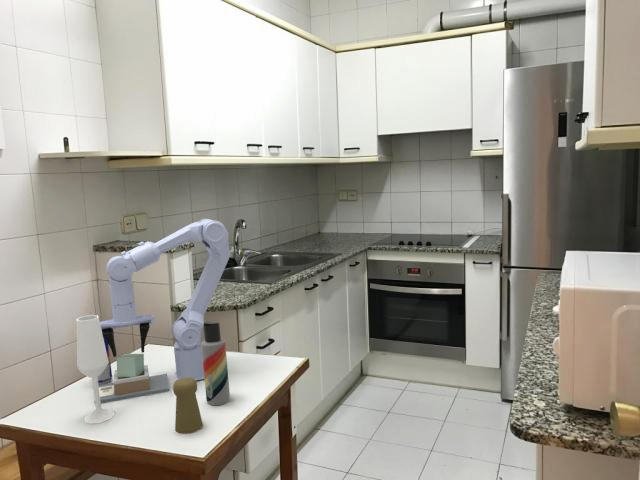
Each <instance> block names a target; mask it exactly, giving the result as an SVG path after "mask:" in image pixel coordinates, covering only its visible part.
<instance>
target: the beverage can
mask: <svg viewBox="0 0 640 480" xmlns="http://www.w3.org/2000/svg"><path fill="white" fill-rule="evenodd" d="M103 339H104V343H105V348H106V352H107V357H108V365H107V367H106V369H105V370H104V371H103V372H102V373H101V375H100V376H98V377H97V378H98V385H102V384H108V383H111V381H112V380H113V374H112V373H113V372H112V366H111V365H112V364H111V356H110V349H109V348H110V346H109V344H108V343H107V341H106V340H105V338H104V337H103Z"/></svg>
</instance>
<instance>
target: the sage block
mask: <svg viewBox="0 0 640 480" xmlns="http://www.w3.org/2000/svg"><path fill="white" fill-rule="evenodd" d="M144 355H145V354H144V353H125V354H122V355H120V356H116V370H117V377H136V376H138V375H140V374H142V373H144V365H145V356H144Z"/></svg>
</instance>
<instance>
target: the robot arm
mask: <svg viewBox="0 0 640 480" xmlns="http://www.w3.org/2000/svg"><path fill="white" fill-rule="evenodd" d="M229 235H230V234H229V231H228V230H227V228H226V226H225V225H224V224H223V222H221V221H218V220H213V219H210V218H202V219H200V220H199V221H195V222H192V223H190V224H187V225H186V226H184V227H182V228H180V229H179V230H178V229H177V231H175V232H173V233H172V234H169V235H168V236H166V237H164V238H161V240H159V241H157V242H152V241H145V242H144V241H140V242H139V243H138V244H137V245H138V246H136V247H134V248H132V249H130V250H128V251H125V250H123V251H121V253H120V254H121V255H116V256H113V257H111V258H110V259H109V261H108V262H107V263H106V267H105V271H106V272H107V274H108V275H109V279H108V280H109V281H108V283H109V294H110V296H109V297H110V302H111V310H112V318H111V319H108V320H103V321H100V326H101V330H102V334H103V337H104V338H105V340H106V341H107V343H108V346H109V348H110V351H111V352H112V358H117V348H116V343H115V333H114V329H119V328H126V327H135V326H139V335H140V351H141V354H144V353H145V345H146V339H147V336H148V333H149V331H150V324H151V325H153V324H156V318H155V314H146V315H145V314H144V315H137V307H136V306H137V305H136V300H135V299H136V298H135V289H134V284H133V278H132V276H133V273H137V272H139V271H141V270H143V269H145V268H147V267H149V266H151V265H153V264H155V263H156V262H159V260H160V258H161V255H163V254H164V253H166V252H168V251H170V250H173V249H175V248H177V247H179V246H181V245H183V244H186V243H188V242H198V243H203V245H204V246H205V248H206V251H207V253H208V255H209V257H208V259H207V261H206V262H205V265H204V268H203V270H202V273H201V275H200V277H199V279H198V282H197V284H196V286H195V288H194V290H193V292H192V295H191V297H190V300H189V301H188V303H187V306H186V308H185V309H184V310H183V311H182V312H181V314H180V316H179V318H177V319H176V320H175V321H174V323H172V325H171V330H170V331H171V334H172V336H173V338H175V339H176V340H175V343H174V345H173V351H174V363H175V370H176V371H175V372H174V377H175V381H177V380H179V379H181V378H193V379H194V380H195V381H196V382H197V381H200V380H201V381H202V380H204V369H203V358H202V347H201V343H202V341H201V340H202V330H203V329H204V323H205V319H204V318H205V315H206V312H207V310H208V307H209V305H210V303H211V300H212V298H213V296H214V294H215V291H216V289H217V286H218V285H219V282H220V280H221V278H222V275H223V273H224V271H225V268H226V266H227V265H228V262H229V260H230V256H231V254H230V253H231V252H230V246H229V245H230V244H229V237H230V236H229Z"/></svg>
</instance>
